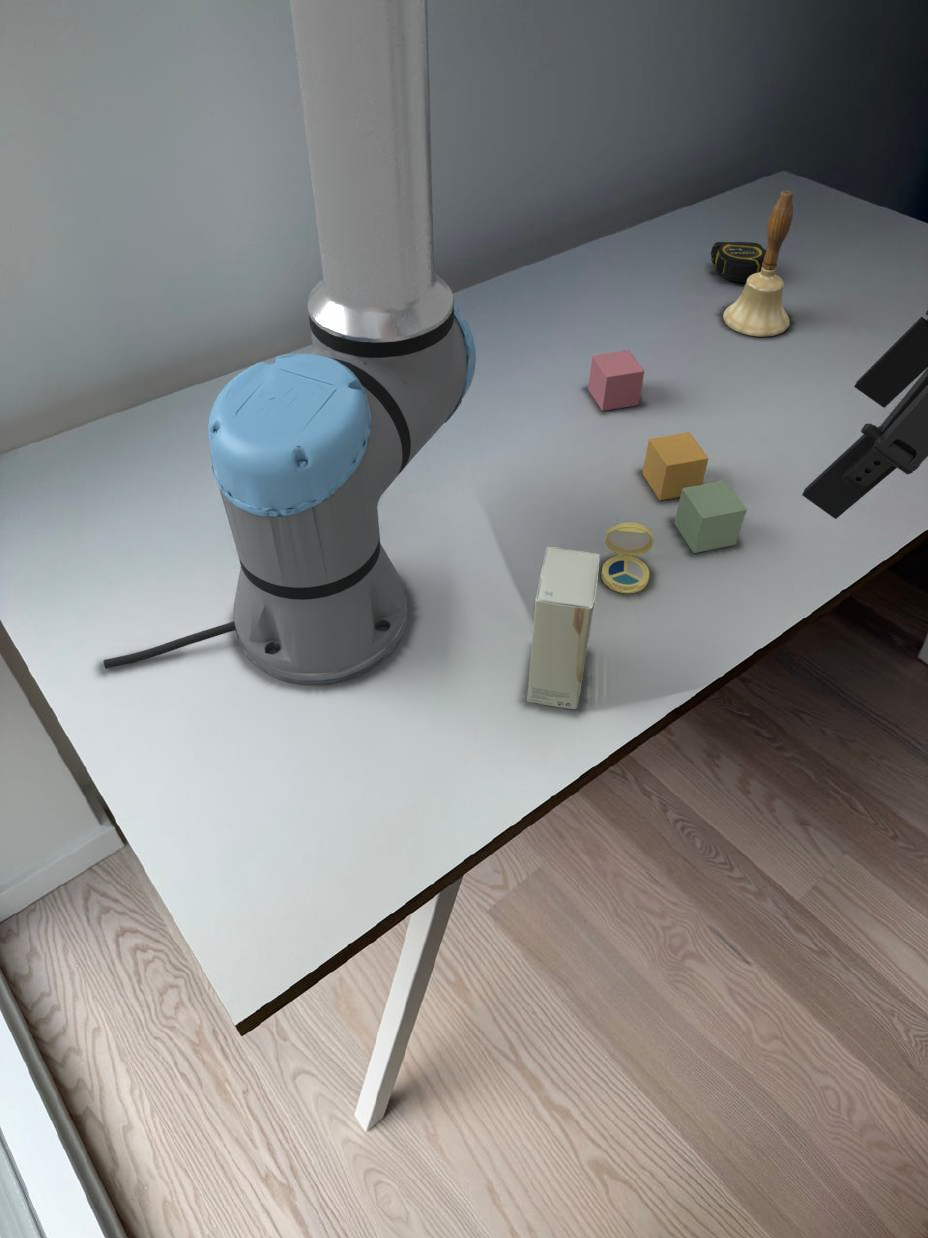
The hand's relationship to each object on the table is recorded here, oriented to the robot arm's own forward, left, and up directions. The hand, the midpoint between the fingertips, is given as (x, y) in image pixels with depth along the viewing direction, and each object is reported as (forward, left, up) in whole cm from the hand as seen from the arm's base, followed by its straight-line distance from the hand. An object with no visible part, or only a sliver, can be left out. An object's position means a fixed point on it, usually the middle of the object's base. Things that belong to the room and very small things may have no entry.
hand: (846, 446), depth 62 cm
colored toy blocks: (+1, +26, -21) cm, 34 cm away
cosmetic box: (-19, +1, -22) cm, 29 cm away
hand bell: (+25, +49, -22) cm, 60 cm away
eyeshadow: (-9, +11, -22) cm, 26 cm away
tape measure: (+28, +61, -22) cm, 71 cm away
